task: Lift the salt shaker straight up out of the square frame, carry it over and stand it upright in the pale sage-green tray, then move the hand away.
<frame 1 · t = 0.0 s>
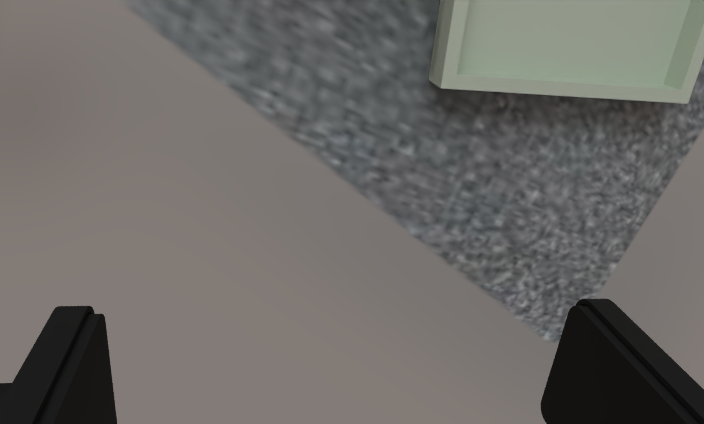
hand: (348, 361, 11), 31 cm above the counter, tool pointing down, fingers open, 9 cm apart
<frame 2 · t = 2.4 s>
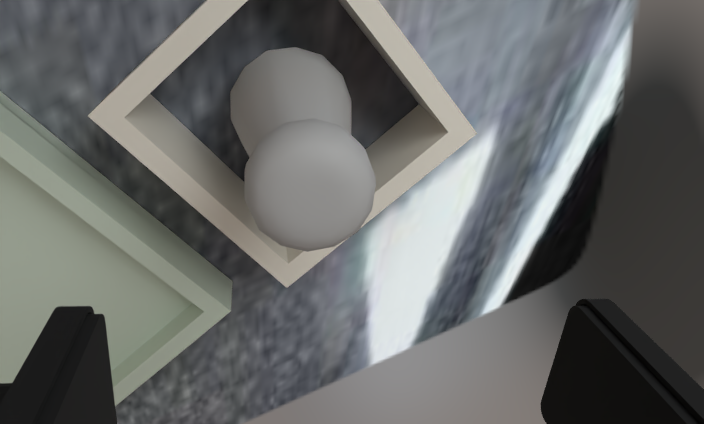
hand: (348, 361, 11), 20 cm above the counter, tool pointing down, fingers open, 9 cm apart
salt shaker: (288, 95, 28), resting in square frame
square frame: (288, 96, 28), on the counter
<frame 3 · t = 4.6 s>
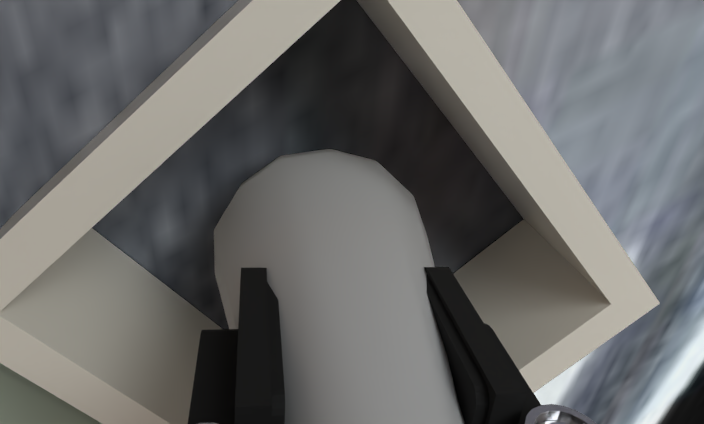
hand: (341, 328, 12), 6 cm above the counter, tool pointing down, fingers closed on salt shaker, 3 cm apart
salt shaker: (313, 212, 17), resting in square frame, touching gripper
square frame: (314, 215, 17), on the counter
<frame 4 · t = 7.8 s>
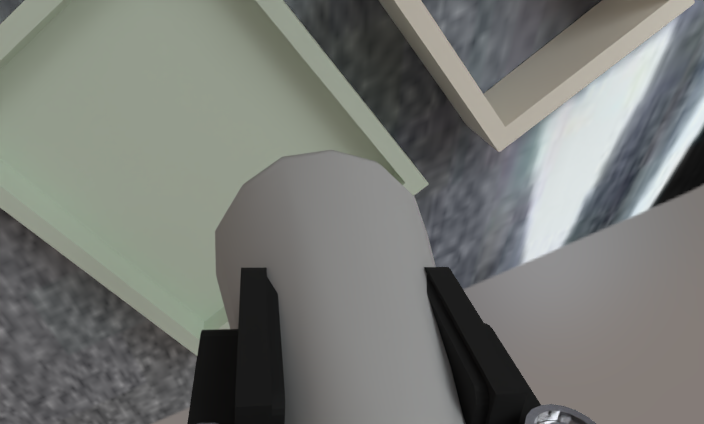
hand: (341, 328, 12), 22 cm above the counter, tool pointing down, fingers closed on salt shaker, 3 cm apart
tray: (194, 141, 31), on the counter
salt shaker: (314, 213, 17), point 16 cm above the counter, touching gripper
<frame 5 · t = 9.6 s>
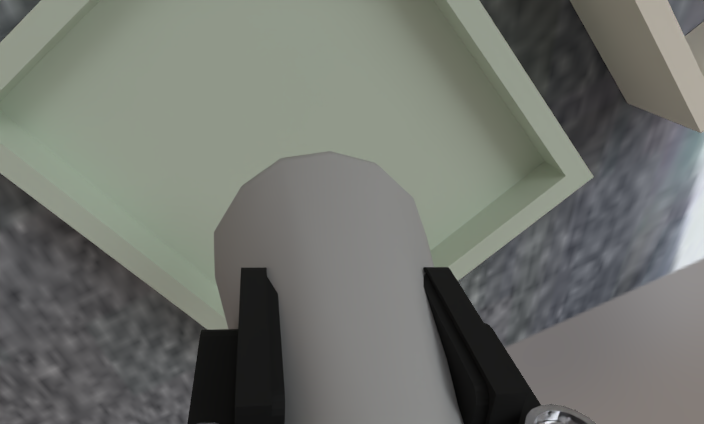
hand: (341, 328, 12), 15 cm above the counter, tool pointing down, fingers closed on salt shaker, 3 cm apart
tray: (297, 129, 25), on the counter
salt shaker: (313, 214, 17), point 9 cm above the counter, touching gripper
when the fingers open (8 cm above the counter, at t = 11.1 s): salt shaker stays where it is, resting on tray.
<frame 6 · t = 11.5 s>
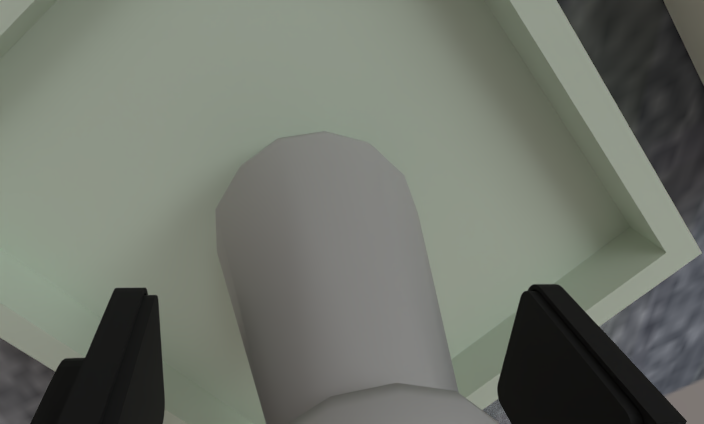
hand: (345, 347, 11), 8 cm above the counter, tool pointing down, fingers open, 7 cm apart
tray: (309, 191, 19), on the counter
salt shaker: (310, 195, 18), point 1 cm above the counter, touching tray
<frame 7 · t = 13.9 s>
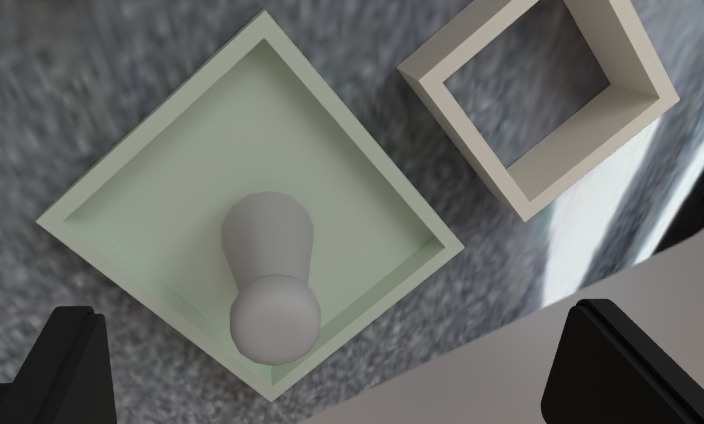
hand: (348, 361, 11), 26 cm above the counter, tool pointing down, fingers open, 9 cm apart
tray: (266, 217, 37), on the counter
salt shaker: (266, 219, 36), point 1 cm above the counter, touching tray
square frame: (517, 77, 36), on the counter
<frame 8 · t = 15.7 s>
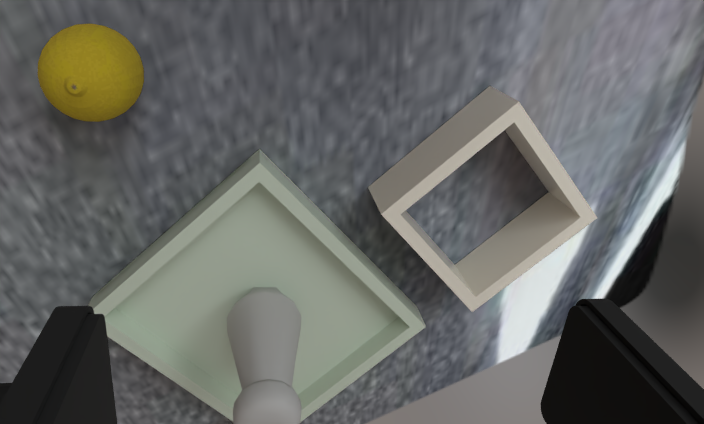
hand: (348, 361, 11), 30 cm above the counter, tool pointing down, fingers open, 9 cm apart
lemon: (110, 60, 36), on the counter
tray: (264, 301, 46), on the counter
salt shaker: (264, 305, 45), point 1 cm above the counter, touching tray
square frame: (469, 189, 44), on the counter
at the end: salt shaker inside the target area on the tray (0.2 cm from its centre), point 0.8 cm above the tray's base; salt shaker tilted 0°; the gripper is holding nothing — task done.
